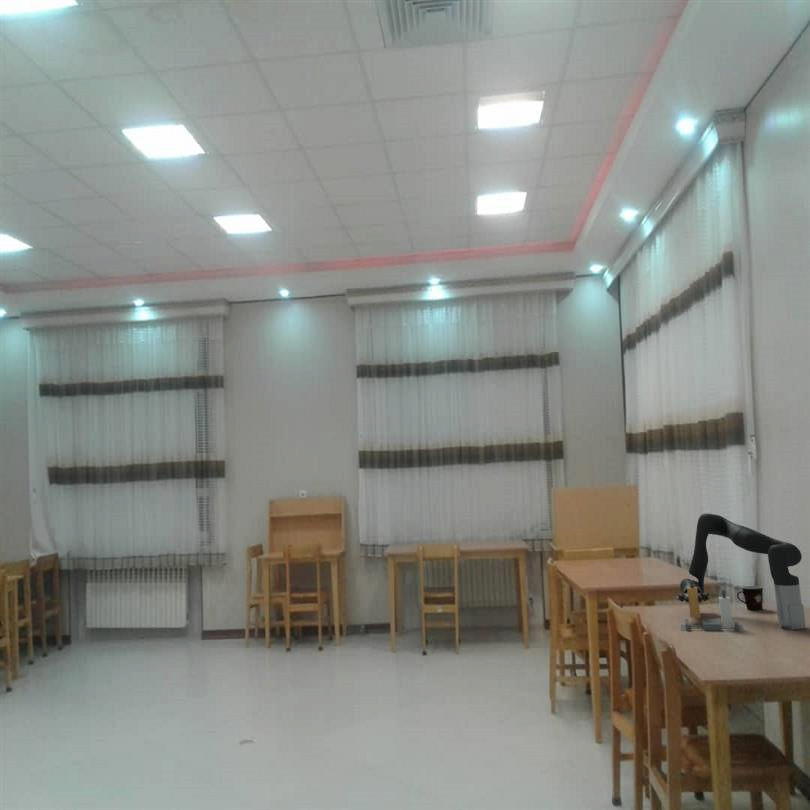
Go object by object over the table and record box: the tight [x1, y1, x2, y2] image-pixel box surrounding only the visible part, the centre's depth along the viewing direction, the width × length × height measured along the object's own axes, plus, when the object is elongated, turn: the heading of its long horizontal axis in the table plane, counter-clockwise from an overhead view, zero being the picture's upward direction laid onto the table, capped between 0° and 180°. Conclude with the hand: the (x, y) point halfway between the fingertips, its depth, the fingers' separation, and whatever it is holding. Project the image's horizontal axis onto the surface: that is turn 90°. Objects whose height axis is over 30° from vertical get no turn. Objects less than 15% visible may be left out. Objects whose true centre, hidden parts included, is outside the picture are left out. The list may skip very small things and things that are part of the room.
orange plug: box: [687, 579, 701, 618], centre depth 322 cm, size 4×4×15 cm
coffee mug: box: [736, 585, 764, 612], centre depth 346 cm, size 12×9×10 cm
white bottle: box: [718, 589, 734, 629], centre depth 309 cm, size 4×4×15 cm
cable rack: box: [680, 618, 745, 632], centre depth 310 cm, size 24×12×4 cm, turn 70°
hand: (693, 600), depth 320 cm, fingers closed on orange plug, 4 cm apart
